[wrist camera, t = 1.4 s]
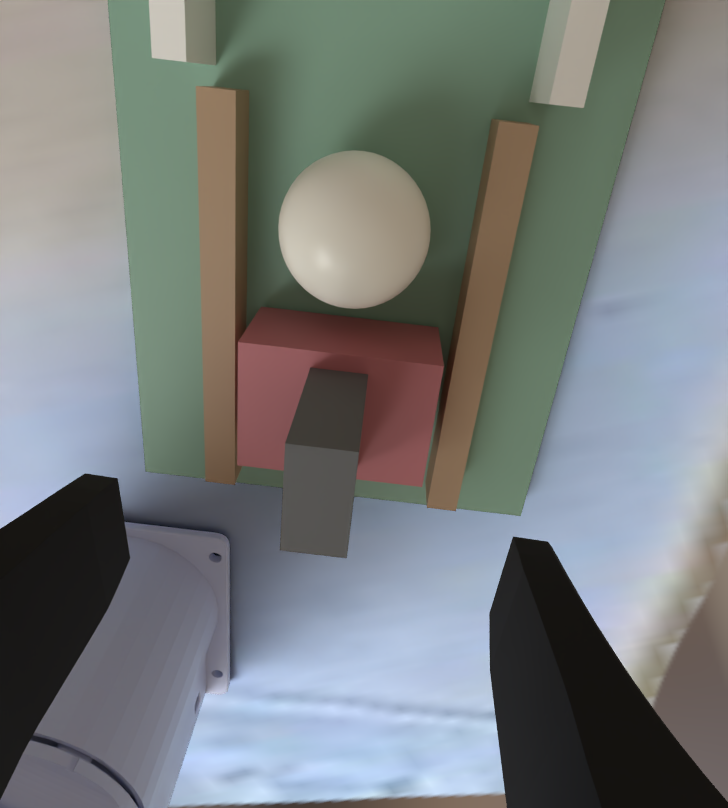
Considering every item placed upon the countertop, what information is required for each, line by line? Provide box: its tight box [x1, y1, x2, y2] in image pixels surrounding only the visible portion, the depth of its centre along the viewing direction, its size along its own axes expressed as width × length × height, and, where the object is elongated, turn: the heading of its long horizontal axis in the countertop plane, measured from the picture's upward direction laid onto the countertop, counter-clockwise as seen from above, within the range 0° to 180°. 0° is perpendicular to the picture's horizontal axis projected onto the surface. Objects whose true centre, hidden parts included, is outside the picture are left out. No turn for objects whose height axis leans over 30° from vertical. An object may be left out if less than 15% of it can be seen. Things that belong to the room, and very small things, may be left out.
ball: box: [278, 150, 431, 309], centre depth 16 cm, size 4×4×4 cm
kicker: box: [237, 307, 444, 558], centre depth 17 cm, size 4×6×7 cm
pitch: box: [108, 0, 665, 516], centre depth 17 cm, size 20×14×2 cm
